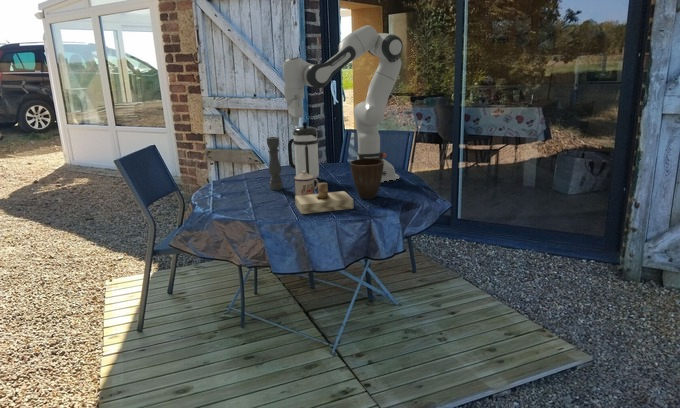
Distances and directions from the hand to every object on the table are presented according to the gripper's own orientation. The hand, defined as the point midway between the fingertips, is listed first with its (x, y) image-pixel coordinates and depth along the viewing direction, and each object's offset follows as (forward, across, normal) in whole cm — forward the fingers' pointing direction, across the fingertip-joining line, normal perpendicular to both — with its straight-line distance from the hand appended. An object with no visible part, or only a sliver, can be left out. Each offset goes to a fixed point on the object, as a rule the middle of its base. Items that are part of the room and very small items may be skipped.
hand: (296, 125), depth 224 cm
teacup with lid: (+31, -9, -2) cm, 33 cm away
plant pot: (+31, -21, -27) cm, 46 cm away
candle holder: (+31, +10, +10) cm, 34 cm away
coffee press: (+31, +23, -7) cm, 40 cm away
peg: (+31, -29, -5) cm, 43 cm away
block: (+31, -29, -5) cm, 43 cm away
